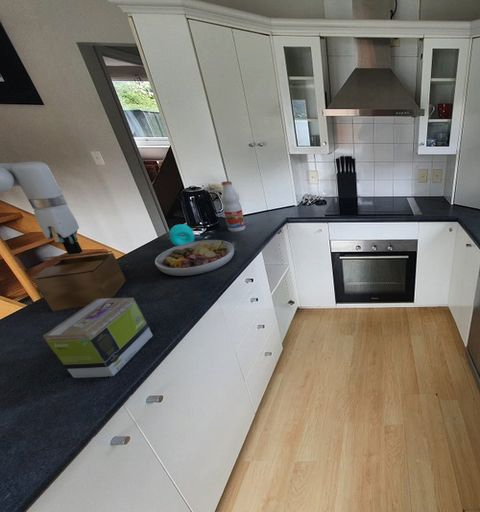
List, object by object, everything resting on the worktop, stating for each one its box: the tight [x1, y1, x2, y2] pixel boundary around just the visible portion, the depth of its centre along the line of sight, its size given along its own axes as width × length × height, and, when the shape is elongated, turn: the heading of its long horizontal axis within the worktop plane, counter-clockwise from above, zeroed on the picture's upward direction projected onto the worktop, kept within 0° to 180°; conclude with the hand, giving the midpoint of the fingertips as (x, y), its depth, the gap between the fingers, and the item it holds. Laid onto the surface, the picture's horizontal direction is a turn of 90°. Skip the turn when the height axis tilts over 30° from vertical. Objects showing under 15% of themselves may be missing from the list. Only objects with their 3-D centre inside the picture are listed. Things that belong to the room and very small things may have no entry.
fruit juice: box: [220, 180, 246, 233], centre depth 157 cm, size 9×9×28 cm
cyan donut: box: [169, 223, 196, 247], centre depth 140 cm, size 10×10×10 cm
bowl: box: [154, 239, 235, 277], centre depth 123 cm, size 30×30×8 cm
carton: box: [31, 252, 127, 312], centre depth 98 cm, size 15×16×13 cm
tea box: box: [42, 297, 154, 379], centre depth 72 cm, size 15×10×15 cm
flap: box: [43, 250, 113, 260], centre depth 98 cm, size 15×8×1 cm, turn 113°
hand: (75, 253), depth 96 cm, fingers closed
